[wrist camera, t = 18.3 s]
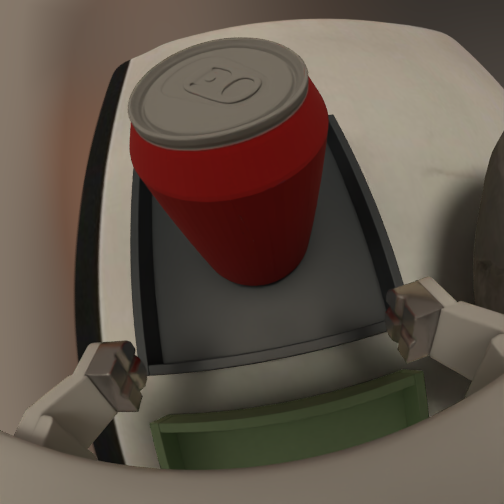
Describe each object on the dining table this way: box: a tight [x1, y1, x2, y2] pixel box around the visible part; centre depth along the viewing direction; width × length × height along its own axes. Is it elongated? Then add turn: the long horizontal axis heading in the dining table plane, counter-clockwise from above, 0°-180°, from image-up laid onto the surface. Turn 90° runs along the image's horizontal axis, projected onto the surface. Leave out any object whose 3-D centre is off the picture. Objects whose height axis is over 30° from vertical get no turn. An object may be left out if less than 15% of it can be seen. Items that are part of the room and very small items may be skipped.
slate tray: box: [130, 115, 404, 376], centre depth 17 cm, size 15×15×3 cm
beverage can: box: [128, 38, 329, 286], centre depth 12 cm, size 7×7×12 cm
